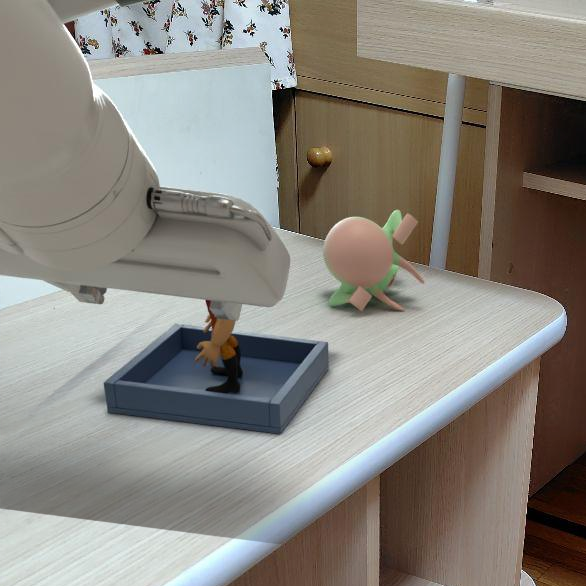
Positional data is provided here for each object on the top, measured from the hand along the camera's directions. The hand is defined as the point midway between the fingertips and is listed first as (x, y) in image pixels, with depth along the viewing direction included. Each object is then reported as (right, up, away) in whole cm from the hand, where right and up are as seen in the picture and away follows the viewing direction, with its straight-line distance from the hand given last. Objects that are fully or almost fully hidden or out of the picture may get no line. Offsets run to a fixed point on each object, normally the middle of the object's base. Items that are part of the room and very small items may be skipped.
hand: (162, 302), depth 68 cm
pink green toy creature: (+8, +9, +36) cm, 38 cm away
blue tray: (0, -4, +14) cm, 15 cm away
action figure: (0, -4, +14) cm, 14 cm away
